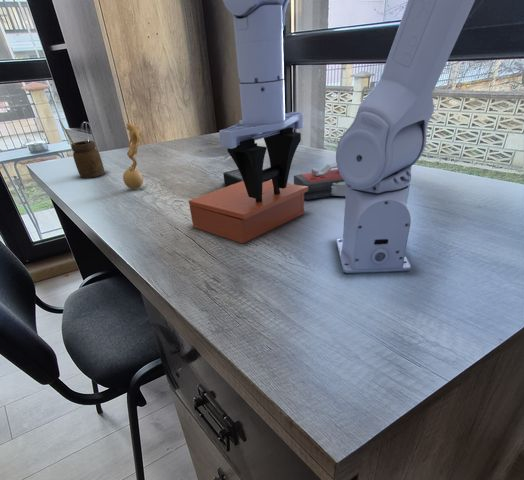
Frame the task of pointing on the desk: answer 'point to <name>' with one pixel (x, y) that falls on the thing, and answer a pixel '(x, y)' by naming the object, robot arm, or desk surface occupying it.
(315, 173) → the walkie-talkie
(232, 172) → the multiport hub
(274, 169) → the lid
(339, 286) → the desk surface
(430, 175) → the desk surface
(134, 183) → the figurine
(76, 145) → the brown clasp jar
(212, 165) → the desk surface
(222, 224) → the tray
